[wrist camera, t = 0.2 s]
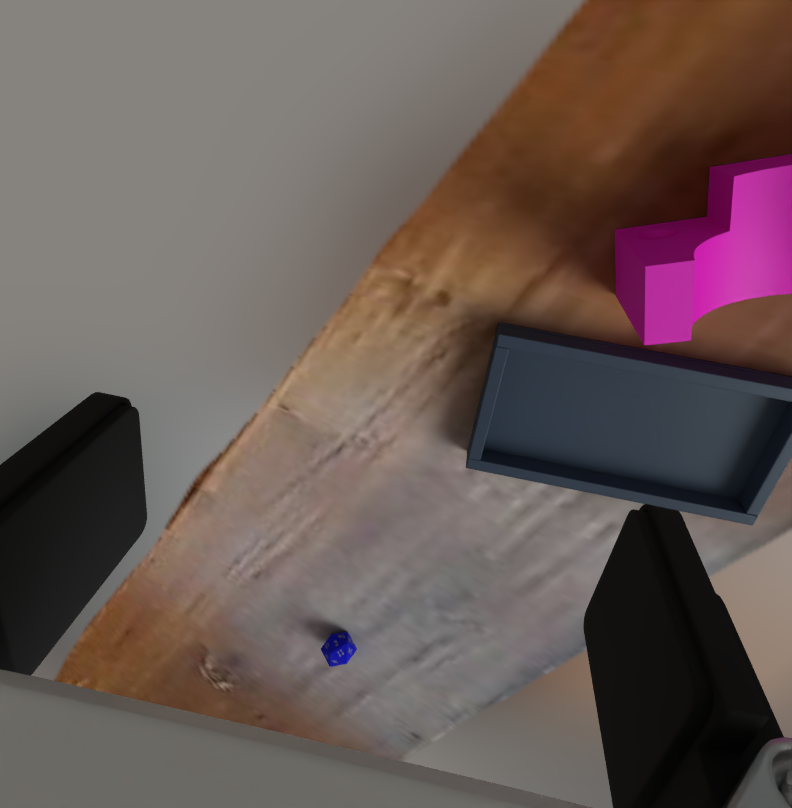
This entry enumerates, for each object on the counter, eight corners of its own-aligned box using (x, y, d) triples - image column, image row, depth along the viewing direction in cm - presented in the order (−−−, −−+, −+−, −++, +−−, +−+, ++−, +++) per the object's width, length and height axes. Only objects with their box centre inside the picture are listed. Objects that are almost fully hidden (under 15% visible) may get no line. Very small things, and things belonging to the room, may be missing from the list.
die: (335, 619, 51) (350, 646, 48) (351, 630, 52) (366, 656, 50) (311, 641, 51) (325, 669, 48) (327, 651, 52) (342, 678, 50)
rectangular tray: (498, 321, 36) (498, 334, 34) (811, 380, 35) (827, 395, 33) (467, 451, 41) (465, 468, 39) (741, 506, 40) (752, 526, 38)
